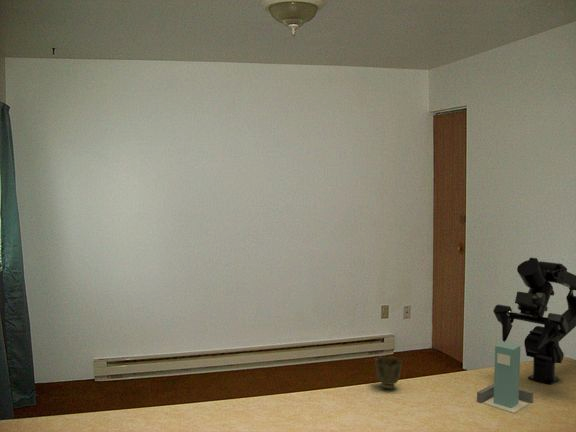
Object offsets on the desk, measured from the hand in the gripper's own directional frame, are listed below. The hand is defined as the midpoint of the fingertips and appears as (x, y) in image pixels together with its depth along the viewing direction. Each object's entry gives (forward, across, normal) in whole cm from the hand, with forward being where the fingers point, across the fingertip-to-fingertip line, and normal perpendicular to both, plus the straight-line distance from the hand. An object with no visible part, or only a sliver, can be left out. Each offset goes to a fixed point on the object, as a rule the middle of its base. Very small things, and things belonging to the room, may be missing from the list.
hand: (520, 344), depth 145 cm
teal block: (+16, +1, +3) cm, 16 cm away
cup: (+26, -27, -6) cm, 38 cm away
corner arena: (+15, 0, +4) cm, 16 cm away
